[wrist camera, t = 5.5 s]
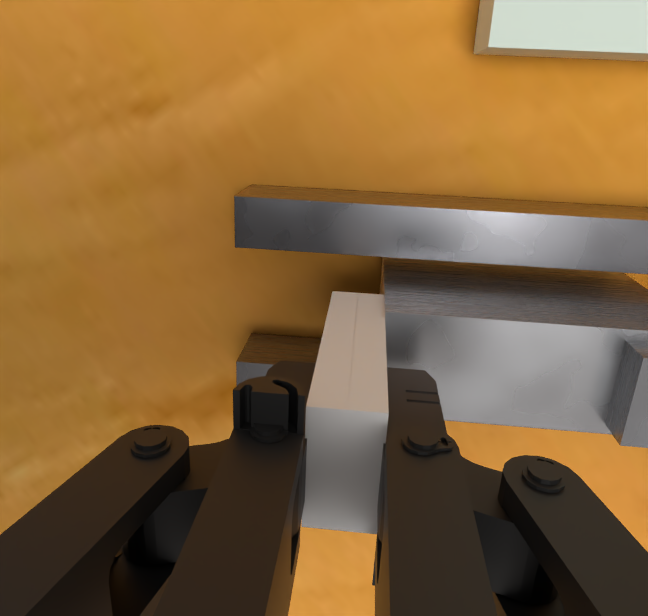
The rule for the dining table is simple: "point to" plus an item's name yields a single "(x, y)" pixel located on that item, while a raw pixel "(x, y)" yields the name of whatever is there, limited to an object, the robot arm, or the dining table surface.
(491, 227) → the guide
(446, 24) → the dining table surface
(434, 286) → the grey metal block
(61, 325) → the dining table surface
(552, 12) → the pale green ledge block
